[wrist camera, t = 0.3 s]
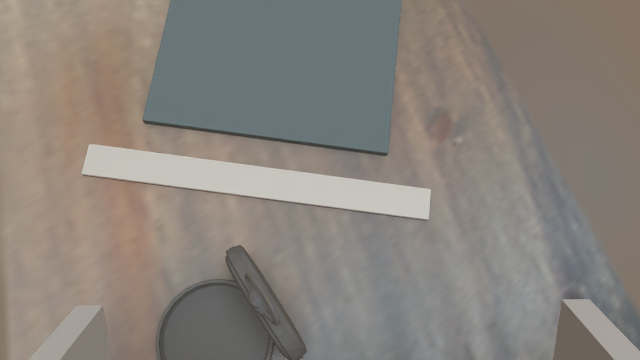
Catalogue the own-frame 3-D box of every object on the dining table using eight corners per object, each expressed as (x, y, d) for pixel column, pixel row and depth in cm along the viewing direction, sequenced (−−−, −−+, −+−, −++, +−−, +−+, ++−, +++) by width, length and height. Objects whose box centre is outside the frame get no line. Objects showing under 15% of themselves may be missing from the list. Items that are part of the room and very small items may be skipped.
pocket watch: (139, 370, 28) (61, 401, 18) (205, 236, 30) (166, 201, 21) (270, 429, 28) (260, 492, 18) (326, 289, 30) (345, 278, 20)
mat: (386, 155, 32) (387, 153, 32) (144, 122, 32) (142, 120, 31) (402, -24, 36) (403, -28, 36) (186, -55, 36) (184, -60, 35)
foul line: (427, 220, 31) (428, 219, 31) (83, 175, 31) (81, 173, 30) (429, 190, 32) (430, 189, 32) (91, 145, 31) (89, 143, 31)
